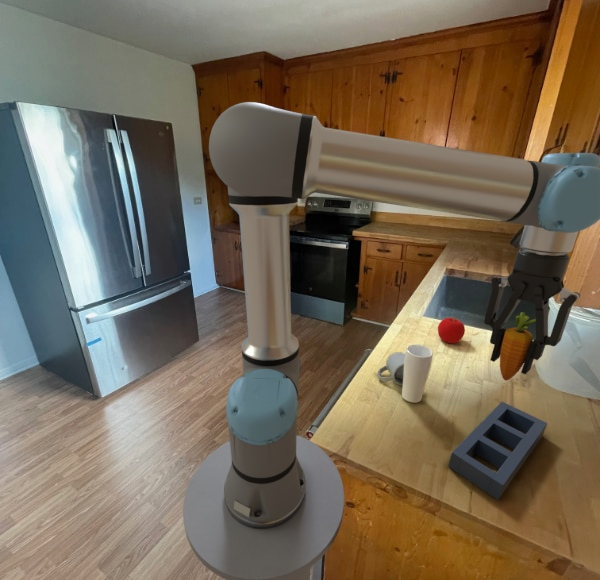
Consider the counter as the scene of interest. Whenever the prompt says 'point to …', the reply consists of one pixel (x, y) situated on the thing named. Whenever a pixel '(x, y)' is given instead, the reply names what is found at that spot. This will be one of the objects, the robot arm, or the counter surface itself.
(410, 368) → the drinking glass
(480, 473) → the block with rectangular holes
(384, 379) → the ceramic mug
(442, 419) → the counter surface
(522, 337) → the carrot
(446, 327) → the fruit
